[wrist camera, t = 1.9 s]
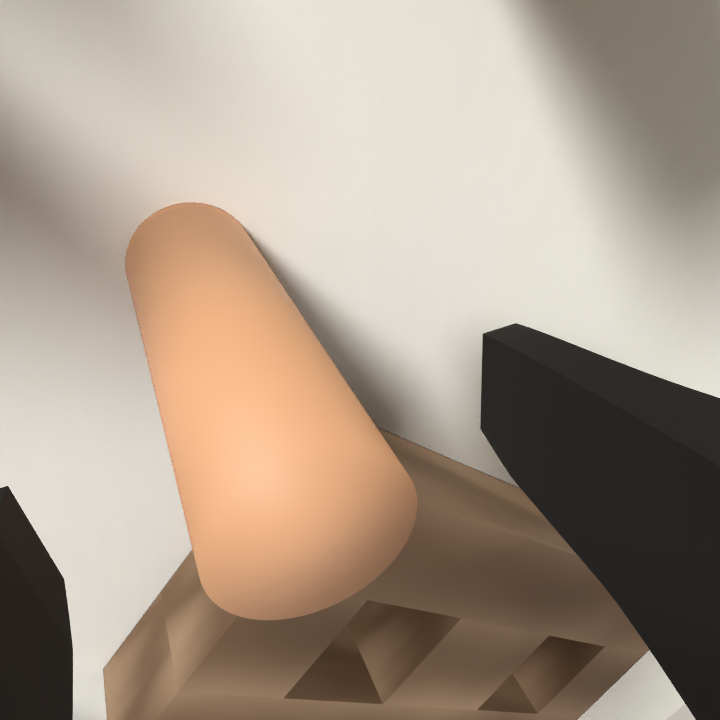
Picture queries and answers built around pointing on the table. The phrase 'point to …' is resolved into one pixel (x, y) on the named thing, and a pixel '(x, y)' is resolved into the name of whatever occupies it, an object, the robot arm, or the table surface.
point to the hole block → (398, 627)
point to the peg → (260, 425)
